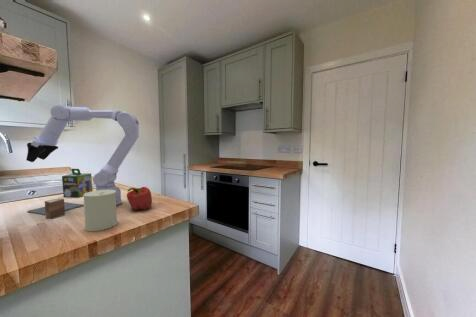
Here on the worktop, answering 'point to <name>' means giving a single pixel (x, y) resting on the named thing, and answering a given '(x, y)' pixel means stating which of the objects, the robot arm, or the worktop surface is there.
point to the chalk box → (76, 184)
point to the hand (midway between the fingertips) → (35, 159)
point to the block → (54, 208)
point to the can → (100, 210)
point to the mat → (67, 206)
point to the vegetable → (139, 198)
